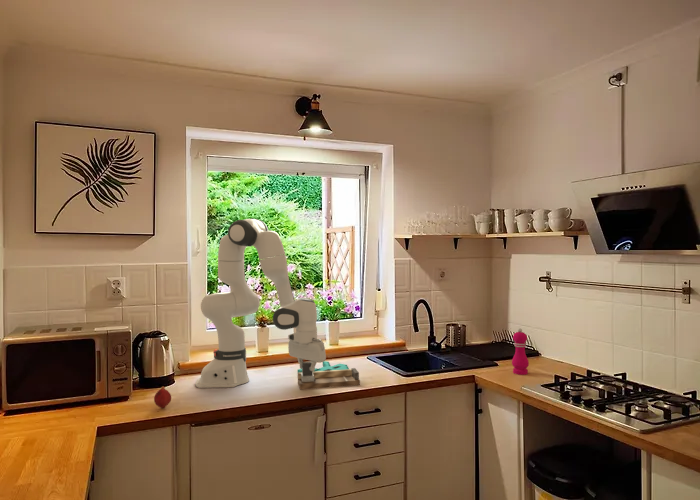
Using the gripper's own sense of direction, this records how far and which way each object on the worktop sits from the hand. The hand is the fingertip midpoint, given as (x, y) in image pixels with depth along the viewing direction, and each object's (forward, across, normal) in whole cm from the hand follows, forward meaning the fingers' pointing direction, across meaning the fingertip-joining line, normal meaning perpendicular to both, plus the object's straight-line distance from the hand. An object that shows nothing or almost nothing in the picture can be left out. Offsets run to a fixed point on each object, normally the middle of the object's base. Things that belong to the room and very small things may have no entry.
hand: (307, 369), depth 217 cm
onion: (+7, +17, +55) cm, 58 cm away
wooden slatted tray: (+7, -5, -7) cm, 11 cm away
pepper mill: (+7, -57, -76) cm, 95 cm away
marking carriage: (+4, 0, 0) cm, 4 cm away
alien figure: (+7, +10, -21) cm, 24 cm away
